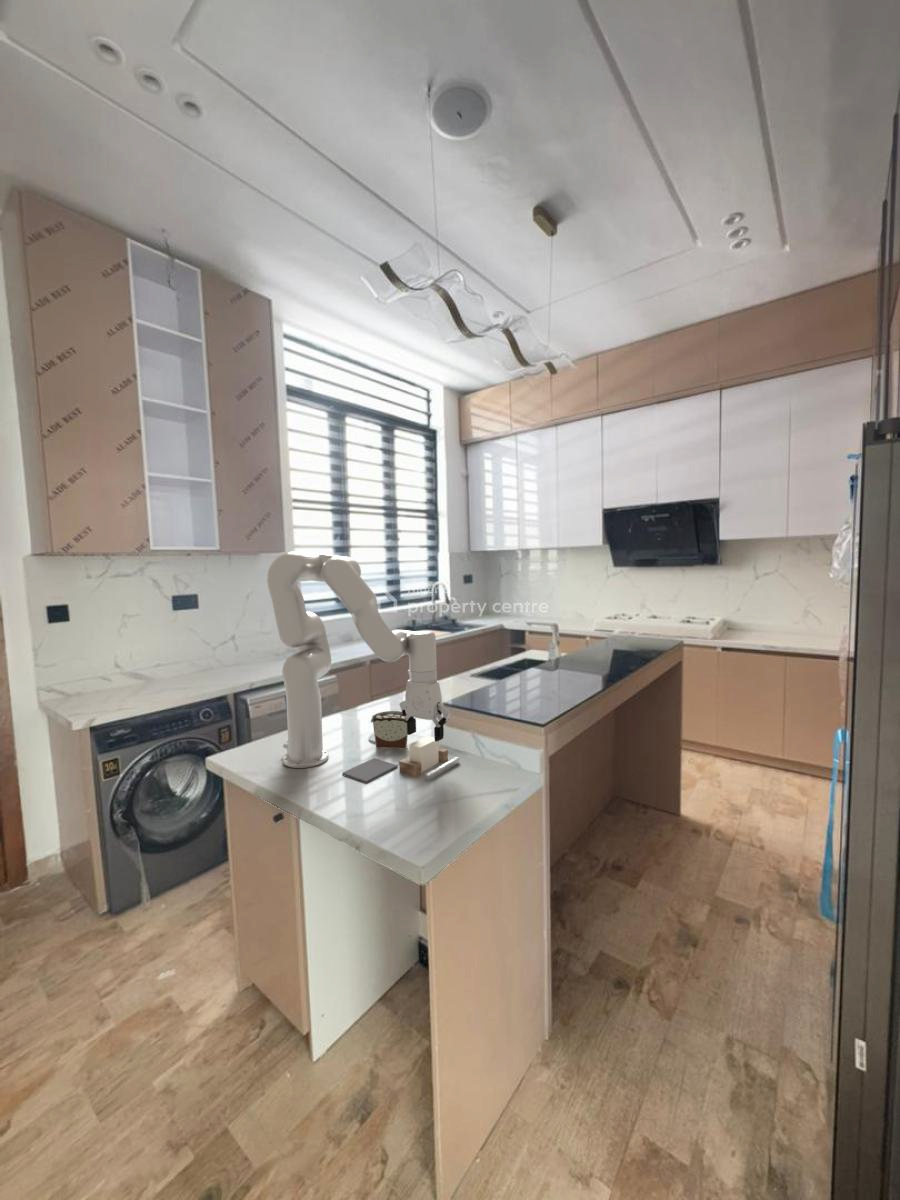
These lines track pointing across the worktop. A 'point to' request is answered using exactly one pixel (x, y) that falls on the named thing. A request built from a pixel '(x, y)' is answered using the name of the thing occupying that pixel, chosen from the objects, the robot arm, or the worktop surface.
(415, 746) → the cream cuboid
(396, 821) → the worktop surface
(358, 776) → the mat
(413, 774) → the blocks
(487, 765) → the worktop surface
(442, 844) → the worktop surface
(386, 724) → the food container
